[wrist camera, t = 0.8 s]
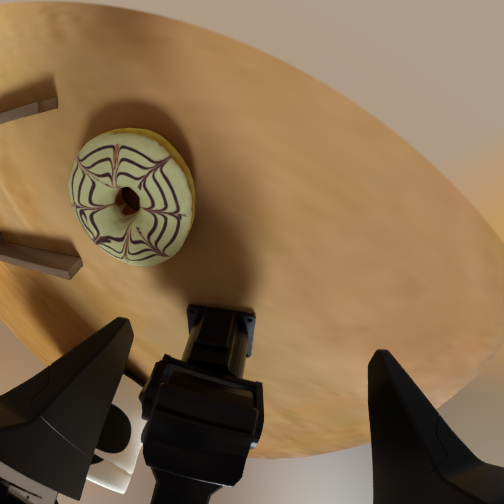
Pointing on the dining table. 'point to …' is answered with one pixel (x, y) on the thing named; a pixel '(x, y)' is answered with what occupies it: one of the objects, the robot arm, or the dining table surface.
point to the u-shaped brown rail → (25, 255)
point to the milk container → (119, 438)
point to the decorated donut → (143, 183)
